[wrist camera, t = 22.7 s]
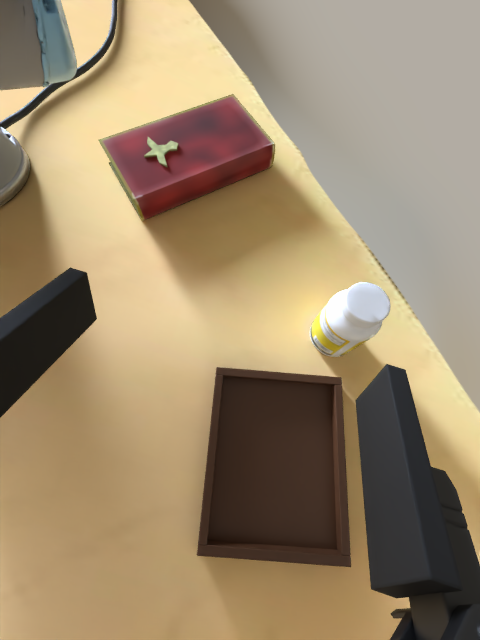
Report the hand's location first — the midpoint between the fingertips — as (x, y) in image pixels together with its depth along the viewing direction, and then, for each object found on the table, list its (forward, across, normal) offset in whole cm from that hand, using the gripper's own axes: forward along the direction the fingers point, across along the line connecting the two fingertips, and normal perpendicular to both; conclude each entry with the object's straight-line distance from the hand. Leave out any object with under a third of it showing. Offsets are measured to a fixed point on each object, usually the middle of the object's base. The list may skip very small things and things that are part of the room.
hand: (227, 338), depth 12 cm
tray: (+5, +7, -20) cm, 22 cm away
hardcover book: (+36, -15, -4) cm, 39 cm away
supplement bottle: (+18, +10, -13) cm, 24 cm away
